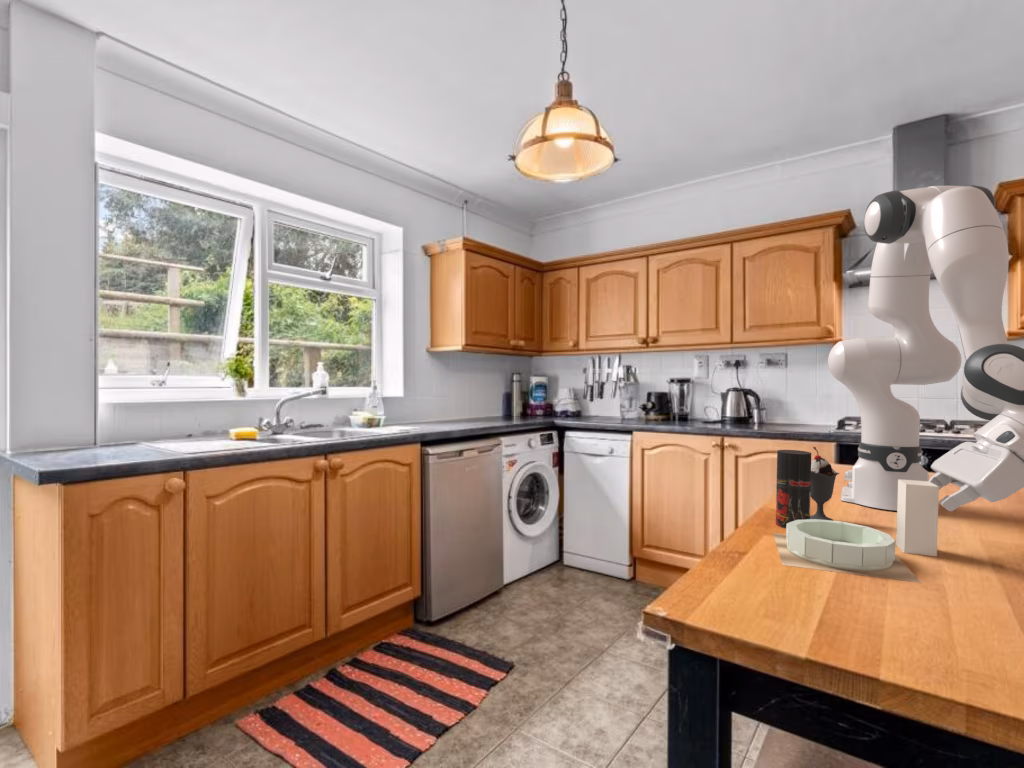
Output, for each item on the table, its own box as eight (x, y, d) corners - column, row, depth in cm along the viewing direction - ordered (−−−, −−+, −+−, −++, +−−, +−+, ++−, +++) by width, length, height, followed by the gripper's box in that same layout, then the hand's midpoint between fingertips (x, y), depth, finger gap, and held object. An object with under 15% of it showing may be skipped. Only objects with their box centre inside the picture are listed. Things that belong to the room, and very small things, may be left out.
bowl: (782, 536, 99) (783, 515, 99) (878, 546, 93) (879, 525, 93) (792, 563, 85) (792, 539, 85) (905, 577, 79) (906, 551, 79)
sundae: (807, 513, 117) (808, 444, 116) (842, 519, 112) (844, 448, 112) (796, 519, 112) (798, 447, 112) (833, 526, 107) (834, 451, 107)
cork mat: (772, 535, 101) (772, 533, 101) (886, 547, 94) (886, 545, 94) (782, 567, 84) (782, 564, 84) (921, 585, 78) (921, 582, 78)
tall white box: (896, 546, 95) (898, 479, 94) (927, 550, 93) (929, 481, 93) (904, 554, 91) (906, 484, 90) (936, 558, 89) (938, 486, 89)
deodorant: (814, 533, 102) (816, 454, 102) (780, 531, 104) (782, 453, 103) (803, 524, 108) (805, 450, 108) (772, 522, 109) (773, 449, 109)
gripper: (964, 426, 97) (899, 475, 101) (1023, 438, 78) (939, 499, 82) (995, 452, 96) (927, 501, 100) (1062, 471, 77) (975, 531, 81)
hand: (933, 500), depth 91 cm, fingers open, 8 cm apart
